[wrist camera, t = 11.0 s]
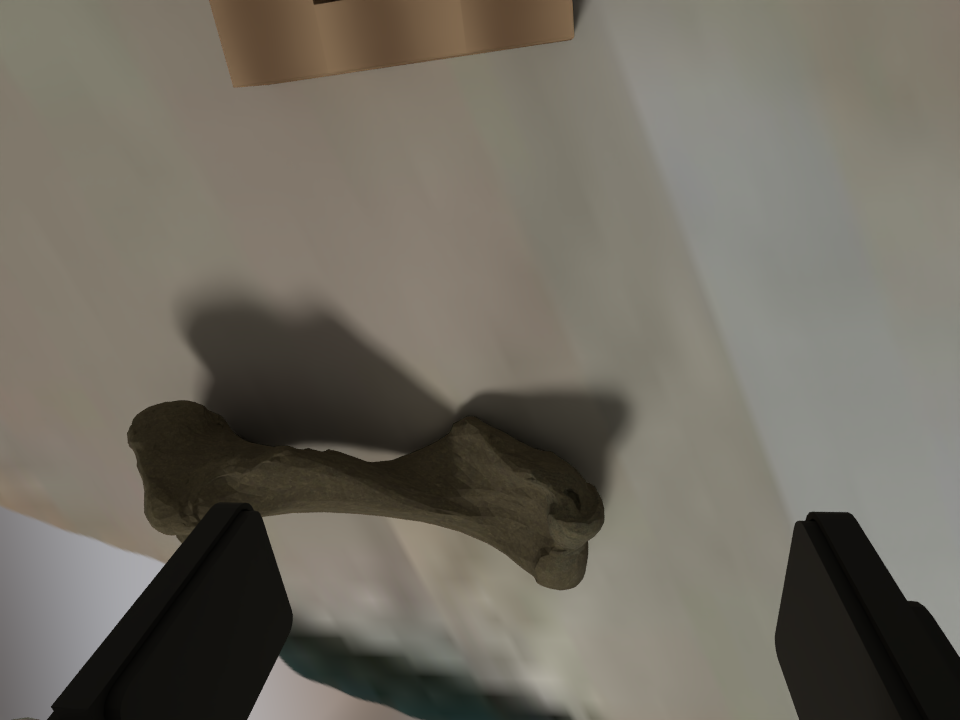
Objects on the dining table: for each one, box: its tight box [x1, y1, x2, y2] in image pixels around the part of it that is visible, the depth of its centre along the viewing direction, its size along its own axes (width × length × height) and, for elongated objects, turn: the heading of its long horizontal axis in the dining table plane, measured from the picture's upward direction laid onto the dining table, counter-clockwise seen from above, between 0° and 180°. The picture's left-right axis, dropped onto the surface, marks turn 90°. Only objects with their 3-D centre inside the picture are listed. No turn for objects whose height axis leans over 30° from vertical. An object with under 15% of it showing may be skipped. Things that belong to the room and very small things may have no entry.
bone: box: [127, 400, 604, 590], centre depth 39 cm, size 10×10×30 cm
